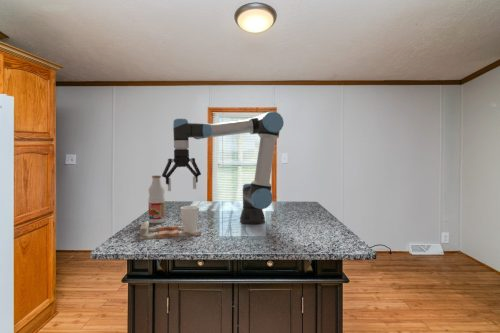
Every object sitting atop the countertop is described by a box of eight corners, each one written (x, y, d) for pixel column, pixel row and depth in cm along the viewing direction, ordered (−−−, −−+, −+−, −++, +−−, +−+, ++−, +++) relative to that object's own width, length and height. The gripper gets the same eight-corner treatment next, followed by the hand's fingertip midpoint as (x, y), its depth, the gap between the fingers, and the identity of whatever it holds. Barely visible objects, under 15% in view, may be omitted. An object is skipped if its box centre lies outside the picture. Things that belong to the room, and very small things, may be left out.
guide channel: (198, 227, 164) (198, 218, 163) (201, 235, 149) (201, 225, 149) (143, 231, 156) (142, 222, 156) (140, 239, 142) (139, 229, 141)
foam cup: (177, 233, 152) (176, 208, 152) (187, 229, 161) (187, 205, 161) (192, 235, 149) (192, 209, 148) (202, 230, 157) (202, 206, 157)
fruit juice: (167, 221, 178) (167, 175, 177) (153, 224, 172) (152, 176, 171) (160, 219, 185) (160, 174, 184) (146, 221, 179) (145, 175, 178)
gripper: (201, 149, 163) (201, 187, 164) (155, 149, 149) (156, 190, 150) (206, 148, 156) (207, 188, 157) (159, 148, 143) (160, 192, 144)
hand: (182, 189), depth 154 cm, fingers open, 13 cm apart
